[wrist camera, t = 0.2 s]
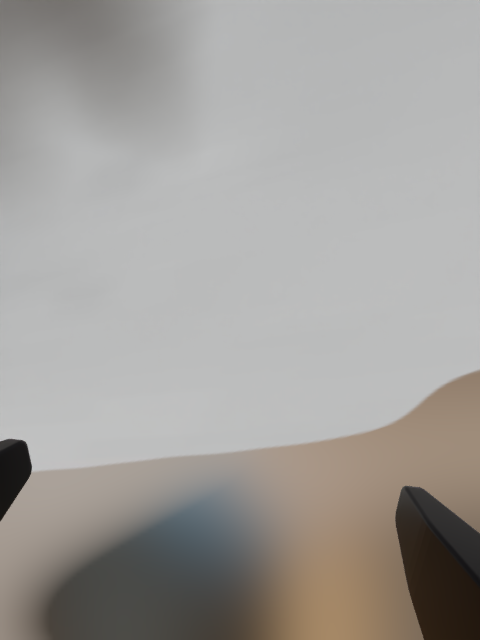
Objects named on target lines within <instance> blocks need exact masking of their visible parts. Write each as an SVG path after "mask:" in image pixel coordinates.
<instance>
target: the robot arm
mask: <svg viewBox="0 0 480 640" xmlns="http://www.w3.org/2000/svg"><path fill="white" fill-rule="evenodd" d="M31 470H32V465H31V460H30V456H29V451H28V447H27V444H26V442H25V441H23V440H16V439H7V440H4V441H0V521H1V520H2V518H3V517H4V515H5V514H6V512H7V511H8V509H9V508H10V506H11V504H12V503H13V501H14V500H15V498H16V497H17V495H18V493H19V492H20V491H21V489H22V488H23V486H24V485H25V483H26V482H27V480H28V479H29V477H30V474H31ZM395 519H396V520H395V521H396V528H397V533H398V539H399V543H400V549H401V554H402V559H403V564H404V569H405V575H406V580H407V584H408V589H409V592H410V596H411V599H412V603H413V606H414V609H415V612H416V615H417V619H418V622H419V625H420V628H421V631H422V634H423V638H424V640H480V533H479V532H477V531H476V530H475V529H474V528H472V527H471V526H470V525H468V524H467V523H466V522H465V521H463V520H462V519H461V518H459V517H458V516H457V515H456V514H455V513H453V512H452V511H451V510H449V509H448V508H447V507H445V506H444V505H443V504H442V503H441V502H439V501H438V500H437V499H436V498H434V497H433V496H432V495H430V494H429V493H428V492H427V491H425V490H424V489H422V488H420V487H412V486H404V487H403V488H402V490H401V493H400V497H399V501H398V506H397V510H396V517H395Z"/></svg>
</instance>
